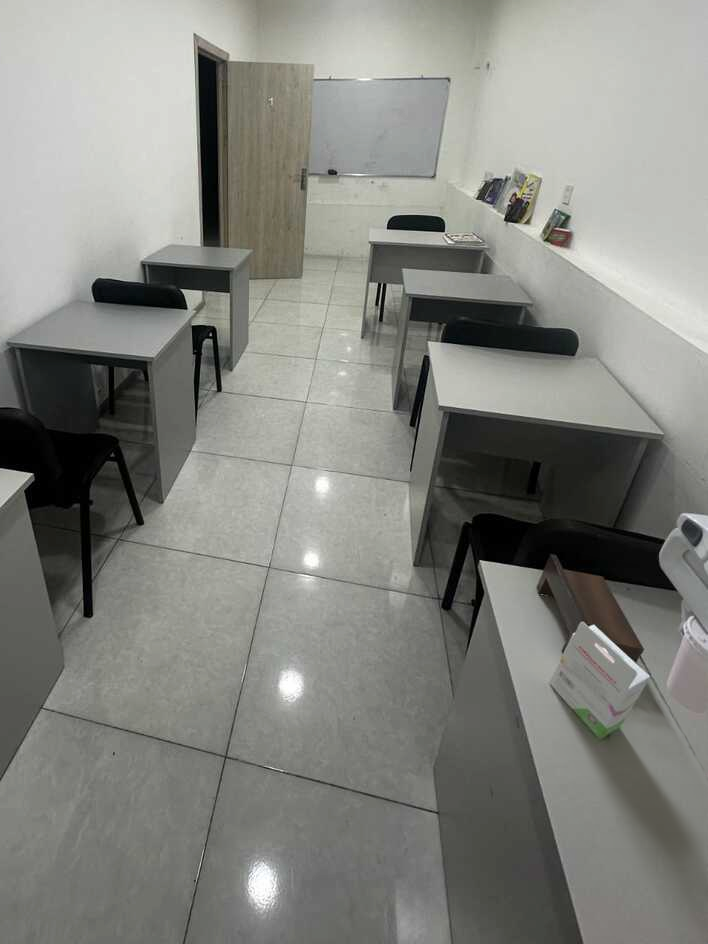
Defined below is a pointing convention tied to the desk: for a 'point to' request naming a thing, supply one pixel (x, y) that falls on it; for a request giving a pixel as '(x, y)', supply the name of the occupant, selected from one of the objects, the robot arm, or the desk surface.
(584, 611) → the shelf
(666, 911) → the desk surface
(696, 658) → the smoothie
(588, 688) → the ink box
